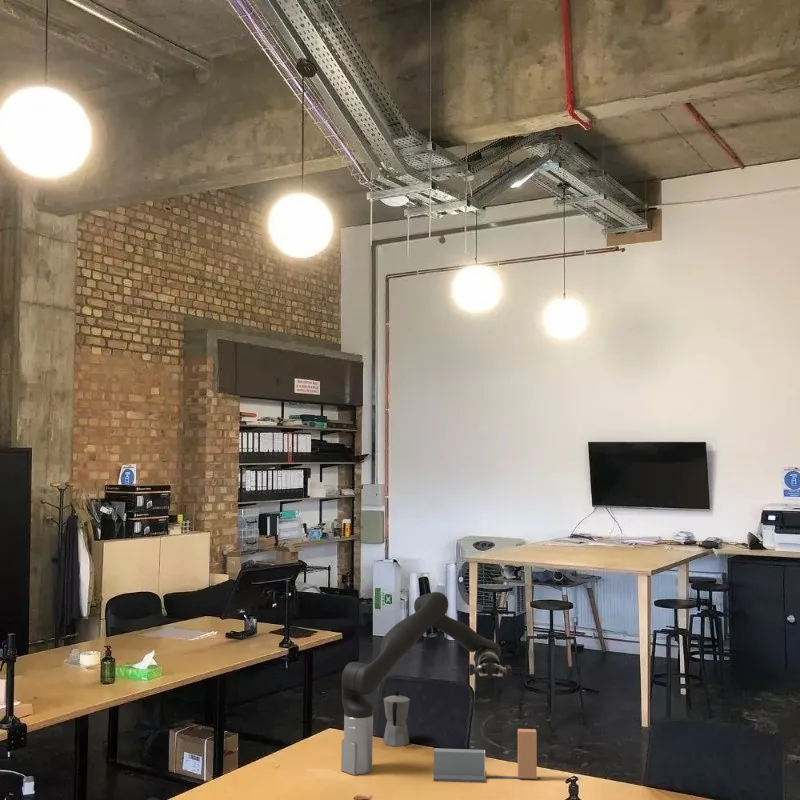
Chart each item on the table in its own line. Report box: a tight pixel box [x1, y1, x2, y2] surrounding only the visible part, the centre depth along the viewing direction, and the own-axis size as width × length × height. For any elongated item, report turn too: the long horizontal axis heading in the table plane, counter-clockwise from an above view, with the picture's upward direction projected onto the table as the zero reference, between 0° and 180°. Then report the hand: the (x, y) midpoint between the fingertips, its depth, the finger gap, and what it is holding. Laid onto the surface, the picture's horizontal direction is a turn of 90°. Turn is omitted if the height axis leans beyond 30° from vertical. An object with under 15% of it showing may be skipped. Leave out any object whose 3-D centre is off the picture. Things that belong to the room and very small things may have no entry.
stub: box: [517, 728, 538, 780], centre depth 269 cm, size 6×3×14 cm, turn 86°
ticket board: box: [432, 747, 542, 784], centre depth 269 cm, size 34×10×8 cm, turn 86°
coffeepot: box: [383, 689, 411, 748], centre depth 302 cm, size 15×9×18 cm, turn 175°
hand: (491, 675), depth 285 cm, fingers open, 8 cm apart
